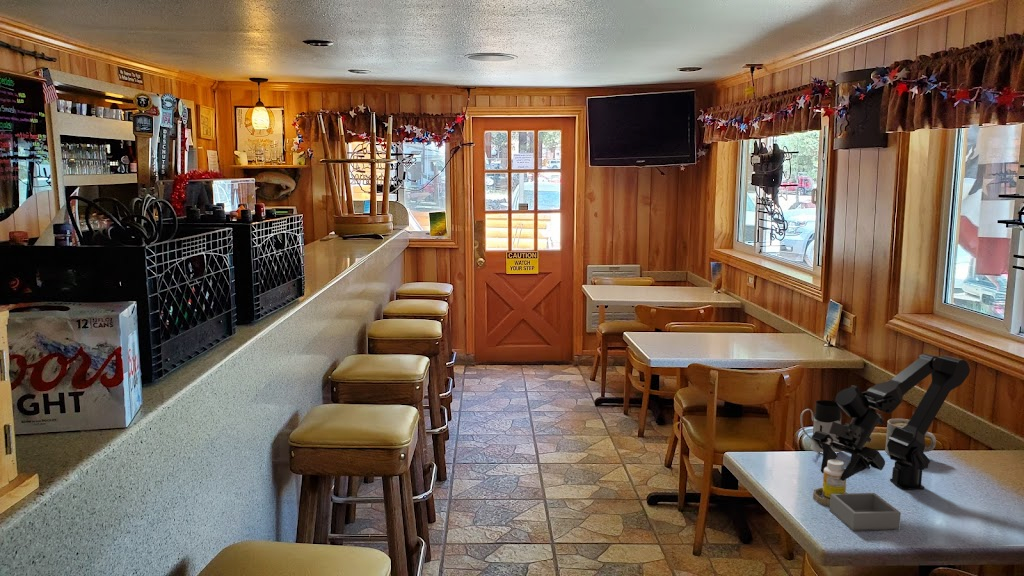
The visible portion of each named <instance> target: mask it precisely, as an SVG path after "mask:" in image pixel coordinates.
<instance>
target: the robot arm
mask: <svg viewBox="0 0 1024 576" xmlns="http://www.w3.org/2000/svg"><path fill="white" fill-rule="evenodd" d="M970 372H971V369H970V365H969V362H968V361H966V360H964V359H961V358H957V357H953V356H950V355H944V354H943V355H939V356H937V355H934V354H930V353H921V354H920V355H918V357H917V359H916V360H914V361H913V362H912V363H911V364H909V365H908V366H906V368H904V369H903V370H902V371H900V372H899V373H898V374H896V375H895V376H893V378H891V379H889V380H888V381H883V382H879V383H876V384H875V385H872V386H871V387H869V388H868V389H867V390H866V391H861V389H860V388H859V387H858V386H857V385H850V387H848V388H844V389H842V390H840V391H839V392H837V394H836V395H835V398H834V401H835V402H836V403H837V404H838V405H839V406H840V407H841V411H843V412H844V413H845V414H846V415H847V416H848V417H849V418H852V419H851V421H850V422H845V423H844V424H842V423H841V424H839V423H836V422H832V425H831V428H830V431H829V433H831V434H835V435H836V436H835V437H836V439H838V440H839V442H837V441H834V440H833V438H832V437H831V436H830V435H829V434H827V433H824V432H821V431H816V432H815V433H814V434H813V433H812V436H810V437H811V438H812V439H813V440H814V441H815V443H816V444H817V445H818V446H819V448H821V449H823V454H822V461H821V466H820V472H821V473H822V474H824V468H825V467H827V463H828V460H830V459H835V460H837V458H838V454H836V453H835V450H836V449H838V450H840V452H843V453H846V454H848V455H849V454H850V461H849V462H848V463H847V466H846V467H845V468H844V469H845V470H844V472H843V473H842V476H841V478H840V479H841V480H842V481H844V480H846V481H847V479H849V478H850V477H852V476H854V475H856V474H858V473H860V472H862V471H863V470H866V469H867V470H870V469H871V468H873V469H876V470H878V471H882V470H883V469H884V467H885V465H886V460H885V458H884V457H883V456H882V454H881V453H880V451H879V450H878V449H874V448H871V447H869V446H865V445H866V444H867V443H871V441H872V438H871V435H872V433H873V432H874V430H875V428H876V426H878V425H883V426H884V425H885V420H884V417H883V414H882V413H878V411H879V412H883V413H886V414H891V413H892V412H894V411H895V410H896V409H897V408H898V407H899V406H900V405H901V404H902V402H903V398H904V396H905V395H906V393H908V392H909V391H910V390H912V389H913V388H914V387H916V386H917V385H918V384H920V383H921V382H922V381H924V380H925V379H926V378H927V377H928V376H930V375H931V382H930V384H929V386H928V388H927V390H926V391H925V393H924V394H923V396H922V398H921V400H920V402H919V403H918V405H917V407H916V408H915V410H914V412H913V413H912V415H911V416H910V419H908V420H909V422H908V424H907V425H906V426H905V427H903V428H901V429H900V428H898V427H896V428H895V429H894V431H893V433H892V435H891V436H890V437H889V438H888V440H889V441H888V444H887V447H888V451H889V455H890V456H889V455H888V456H889V459H890V460H892V461H894V466H893V467H892V474H891V475H892V476H891V478H889V481H890V482H891V483H893V484H894V485H896V486H897V487H899V488H900V489H902V490H924V489H925V486H924V485H923V484H922V478H923V471H925V469H928V468H929V465H930V462H931V460H930V459H929V458H928V457H927V455H926V454H925V452H924V453H923V451H924V449H925V446H926V439H925V438H926V437H925V434H926V432H928V430H929V429H930V427H931V425H932V423H933V422H934V420H935V418H936V416H937V415H938V413H939V411H940V409H941V408H942V406H943V404H944V403H945V400H946V399H947V397H948V396H949V394H950V392H951V391H952V390H954V389H957V388H958V387H960V386H961V385H962V384H963V383H964V382H965V380H966V379H967V378H968V376H969V374H970ZM876 410H878V411H876Z"/></svg>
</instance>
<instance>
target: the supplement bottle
mask: <svg viewBox="0 0 1024 576" xmlns="http://www.w3.org/2000/svg"><path fill="white" fill-rule="evenodd" d="M845 469H846V468H845V463H844V461H843V460H839V459H830V460H828V463H827V467H825V468H824V473H823V481H822V482H823V483H822V488H823V494H822V498H824V499H827V500H830V496H831V494H846V492H847V479H846V480H844V481H842V480H841V479H840V478H841V476H842V473H843V472H844V470H845Z"/></svg>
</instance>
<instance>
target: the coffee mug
mask: <svg viewBox="0 0 1024 576" xmlns="http://www.w3.org/2000/svg"><path fill="white" fill-rule="evenodd" d="M909 420H910V419H906V418H890V419H888V420H887V421H886V422H887V424H886V425H887V426H886V436H885V450H884V453H885V452H886V453H887V454H888V455H887V454H886V453H885V454H886V455H887V456H889V451H888V447H887V444H888V441H889V440H888V438H889V437H890V436H891V435H892V433H893V431H894V429H895V428H896V427H898V428H900V429H901V428H903V427H905V426H906V425H907V424H908V422H909ZM927 437H928V438H929V439H930V445H928V446H926V445H925V449H924V451H923V453H924V454H925V453H927V452H932V451H933V450H934V449H935V447H936V445H937V439H936V436H935V435H934V433H932V432H929V431H927V432H926V434H925V438H927Z"/></svg>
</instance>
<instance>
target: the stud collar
mask: <svg viewBox="0 0 1024 576" xmlns="http://www.w3.org/2000/svg"><path fill="white" fill-rule="evenodd" d="M846 493H848V492H847V491H846ZM820 495H823V487H818V488H816V489H814V490H813V494H812V499H813V500H814V501H815V502H816V503H818V504H820V505H823V506H825V507H829V508H830V500H827V499H824V498H823V496H822V497H821V496H820Z"/></svg>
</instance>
